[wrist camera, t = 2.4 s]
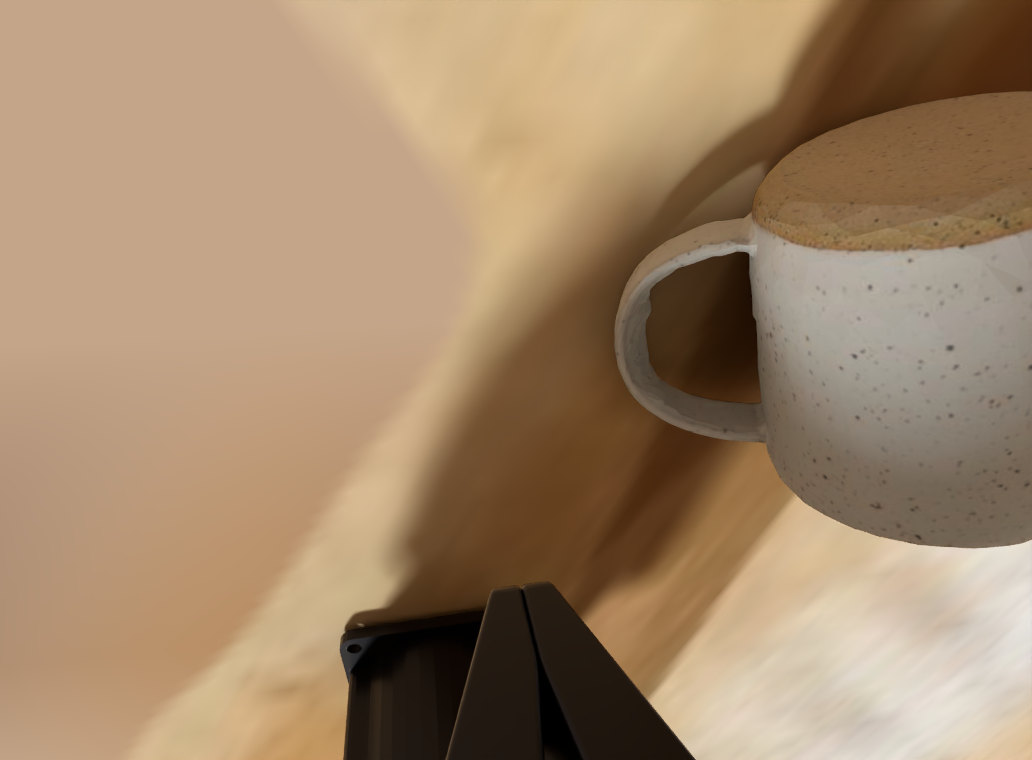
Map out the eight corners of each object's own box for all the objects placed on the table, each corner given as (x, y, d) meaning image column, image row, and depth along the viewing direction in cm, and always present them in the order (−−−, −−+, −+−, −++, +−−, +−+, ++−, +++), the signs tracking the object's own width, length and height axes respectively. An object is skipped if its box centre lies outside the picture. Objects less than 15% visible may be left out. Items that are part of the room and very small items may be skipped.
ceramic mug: (972, 54, 16) (1367, 97, 9) (959, 330, 20) (1222, 492, 13) (566, 212, 16) (665, 356, 10) (638, 445, 21) (740, 653, 14)
